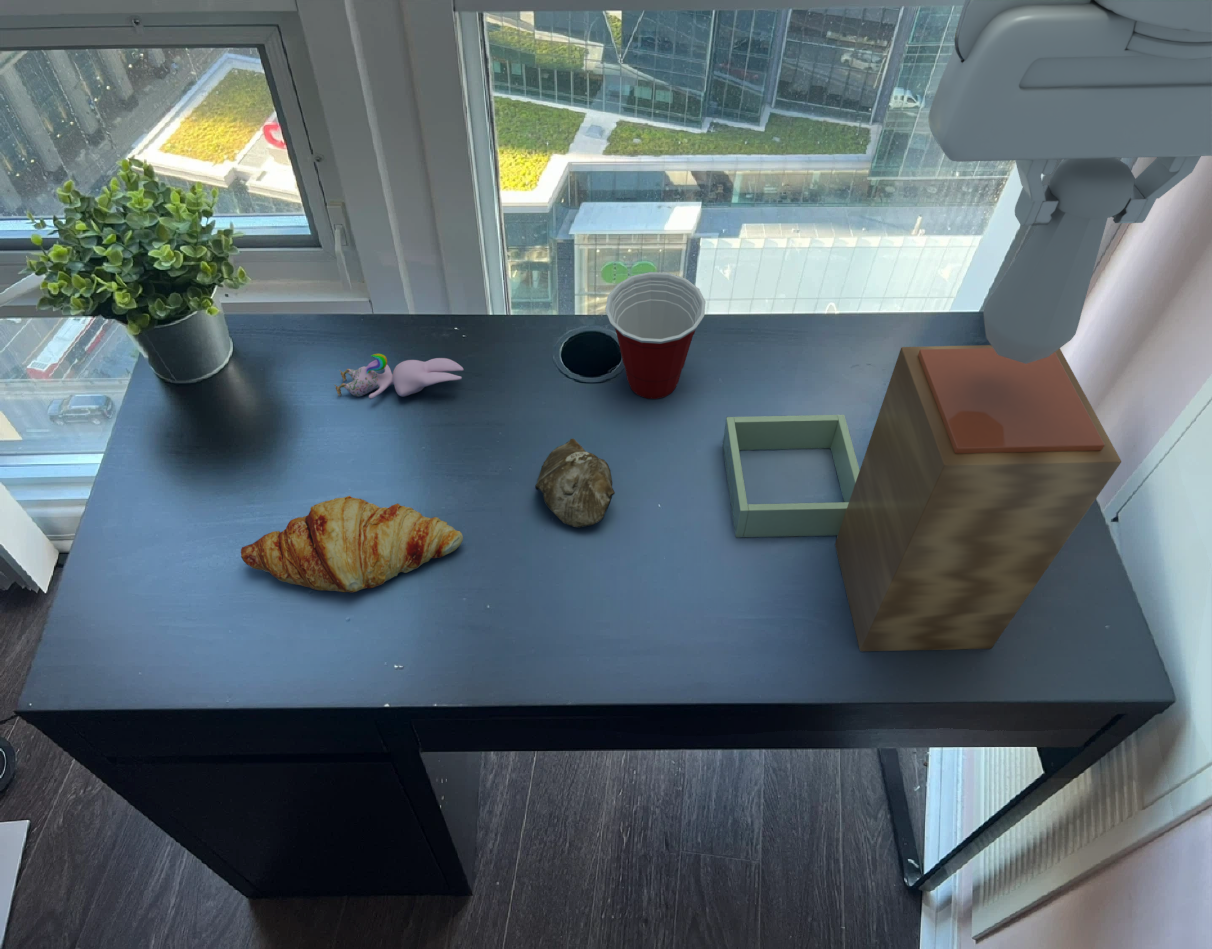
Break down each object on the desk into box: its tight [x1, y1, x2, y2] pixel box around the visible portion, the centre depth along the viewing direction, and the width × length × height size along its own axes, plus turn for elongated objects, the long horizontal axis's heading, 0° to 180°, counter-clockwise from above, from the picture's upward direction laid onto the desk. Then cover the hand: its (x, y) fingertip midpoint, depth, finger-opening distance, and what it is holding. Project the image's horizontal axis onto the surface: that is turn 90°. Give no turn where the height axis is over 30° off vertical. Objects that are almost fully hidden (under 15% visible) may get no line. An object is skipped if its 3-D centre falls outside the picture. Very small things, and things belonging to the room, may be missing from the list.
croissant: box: [240, 495, 464, 593], centre depth 82 cm, size 21×10×8 cm, turn 98°
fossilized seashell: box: [534, 438, 616, 529], centre depth 87 cm, size 8×7×10 cm
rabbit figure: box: [334, 353, 464, 400], centre depth 97 cm, size 6×6×15 cm
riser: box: [834, 344, 1122, 652], centre depth 70 cm, size 12×12×26 cm
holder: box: [722, 414, 860, 538], centre depth 87 cm, size 13×13×4 cm
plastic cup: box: [604, 271, 707, 400], centre depth 95 cm, size 11×11×12 cm
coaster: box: [918, 348, 1105, 453], centre depth 60 cm, size 10×10×1 cm
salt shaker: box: [982, 158, 1136, 364], centre depth 52 cm, size 6×6×13 cm
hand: (1077, 219), depth 50 cm, fingers closed on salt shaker, 4 cm apart
